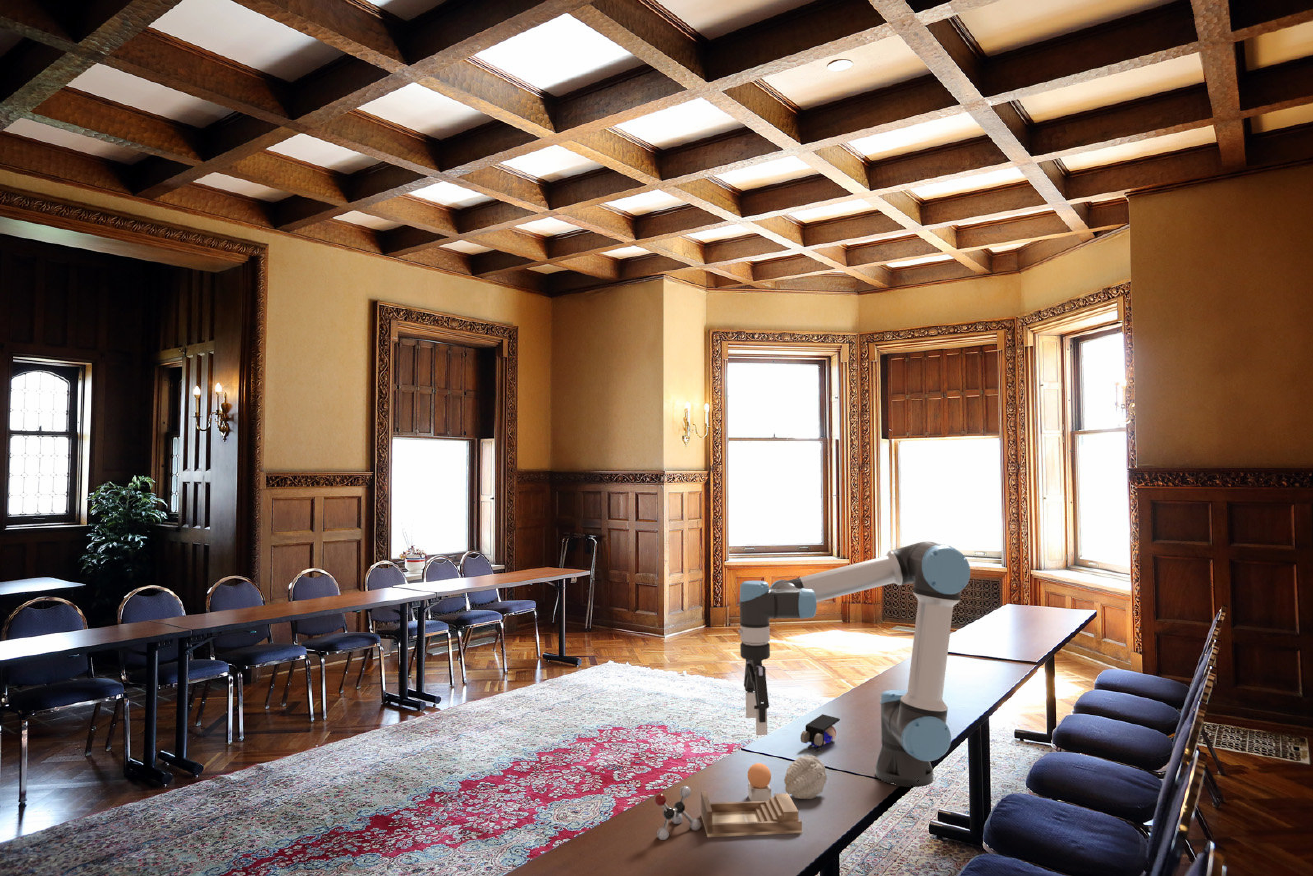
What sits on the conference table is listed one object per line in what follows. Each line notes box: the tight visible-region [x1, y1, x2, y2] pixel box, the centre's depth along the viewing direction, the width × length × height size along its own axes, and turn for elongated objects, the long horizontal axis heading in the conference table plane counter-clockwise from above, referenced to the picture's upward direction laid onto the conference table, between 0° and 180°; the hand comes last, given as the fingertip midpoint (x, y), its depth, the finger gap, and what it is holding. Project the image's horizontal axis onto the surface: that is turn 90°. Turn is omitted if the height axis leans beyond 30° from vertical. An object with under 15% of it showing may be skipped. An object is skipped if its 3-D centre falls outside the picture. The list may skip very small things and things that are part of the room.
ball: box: [747, 762, 772, 788], centre depth 204 cm, size 6×6×6 cm
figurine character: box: [800, 713, 840, 752], centre depth 244 cm, size 7×8×15 cm
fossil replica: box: [783, 754, 828, 800], centre depth 206 cm, size 12×8×10 cm
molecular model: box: [654, 785, 702, 841], centre depth 186 cm, size 8×12×11 cm
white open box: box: [747, 781, 772, 802], centre depth 204 cm, size 5×5×4 cm
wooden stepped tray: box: [700, 790, 803, 838], centre depth 190 cm, size 22×12×6 cm, turn 94°
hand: (756, 726), depth 204 cm, fingers open, 13 cm apart
